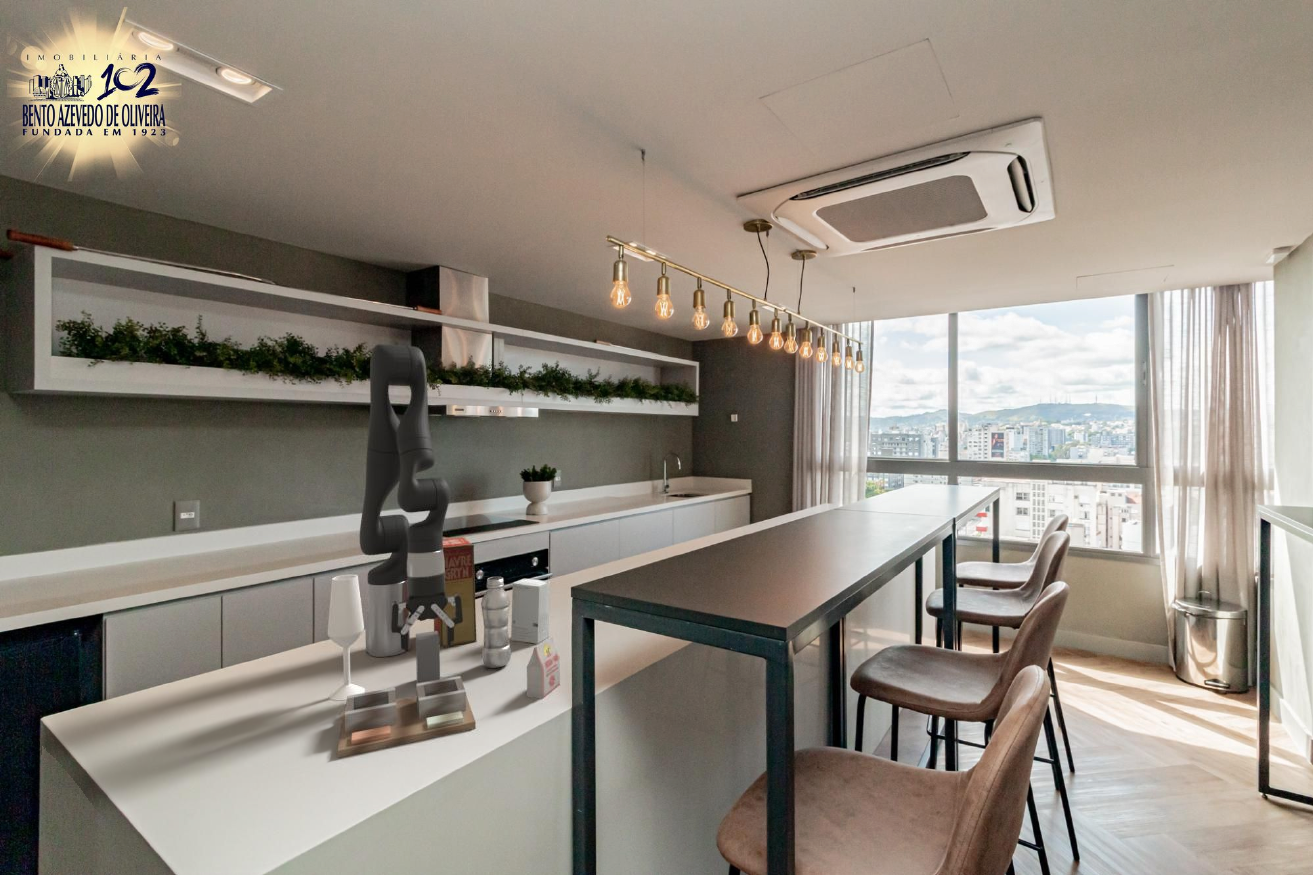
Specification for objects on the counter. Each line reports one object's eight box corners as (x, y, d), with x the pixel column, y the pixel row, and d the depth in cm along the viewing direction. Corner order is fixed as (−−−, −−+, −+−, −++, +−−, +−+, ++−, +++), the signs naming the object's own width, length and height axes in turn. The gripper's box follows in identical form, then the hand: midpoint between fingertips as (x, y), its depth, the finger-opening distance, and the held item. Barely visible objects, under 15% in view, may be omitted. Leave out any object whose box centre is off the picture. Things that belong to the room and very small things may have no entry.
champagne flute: (350, 701, 120) (347, 581, 120) (321, 699, 122) (318, 580, 121) (372, 687, 127) (370, 573, 127) (344, 685, 128) (342, 572, 128)
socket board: (337, 757, 99) (337, 729, 99) (342, 716, 114) (342, 691, 114) (475, 728, 109) (475, 702, 109) (463, 693, 123) (463, 670, 123)
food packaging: (431, 632, 161) (430, 539, 161) (468, 626, 166) (466, 536, 165) (439, 648, 149) (437, 547, 149) (478, 641, 154) (476, 544, 154)
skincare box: (510, 640, 154) (509, 583, 154) (523, 633, 160) (522, 577, 159) (539, 644, 151) (538, 585, 151) (551, 636, 157) (550, 579, 157)
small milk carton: (527, 695, 122) (526, 646, 122) (544, 682, 128) (543, 635, 128) (543, 698, 121) (542, 648, 121) (559, 685, 127) (559, 637, 127)
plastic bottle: (515, 660, 141) (513, 575, 141) (505, 672, 134) (503, 582, 134) (488, 659, 141) (487, 574, 141) (477, 671, 135) (475, 582, 134)
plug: (417, 687, 127) (417, 640, 127) (416, 679, 131) (415, 633, 131) (440, 683, 129) (439, 636, 128) (438, 675, 132) (437, 630, 132)
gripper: (390, 579, 123) (392, 658, 123) (463, 570, 129) (465, 646, 129) (389, 572, 130) (391, 647, 130) (458, 564, 136) (460, 636, 136)
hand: (428, 647), depth 129 cm, fingers open, 8 cm apart
